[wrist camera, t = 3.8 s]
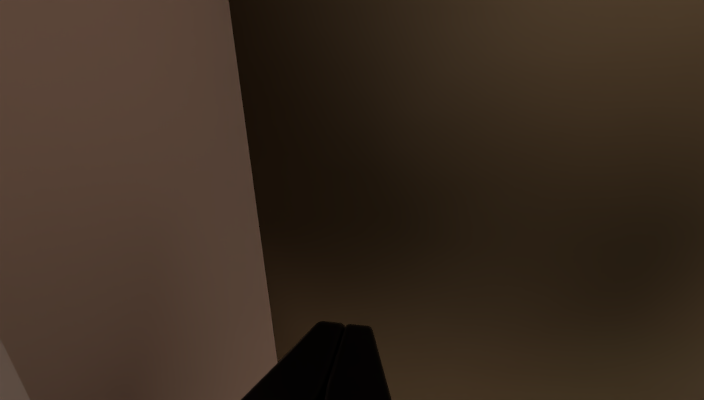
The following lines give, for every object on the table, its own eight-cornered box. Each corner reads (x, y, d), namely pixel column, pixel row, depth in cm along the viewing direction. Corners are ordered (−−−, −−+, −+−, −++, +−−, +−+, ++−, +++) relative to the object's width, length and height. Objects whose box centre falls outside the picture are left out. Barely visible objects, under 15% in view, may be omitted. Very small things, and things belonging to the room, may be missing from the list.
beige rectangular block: (281, 379, 15) (170, 686, 9) (186, 368, 16) (23, 653, 10) (219, -82, 9) (-197, -64, 3) (71, -78, 10) (-526, -54, 4)
